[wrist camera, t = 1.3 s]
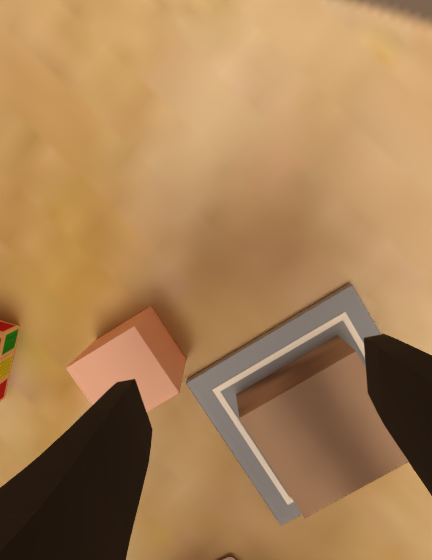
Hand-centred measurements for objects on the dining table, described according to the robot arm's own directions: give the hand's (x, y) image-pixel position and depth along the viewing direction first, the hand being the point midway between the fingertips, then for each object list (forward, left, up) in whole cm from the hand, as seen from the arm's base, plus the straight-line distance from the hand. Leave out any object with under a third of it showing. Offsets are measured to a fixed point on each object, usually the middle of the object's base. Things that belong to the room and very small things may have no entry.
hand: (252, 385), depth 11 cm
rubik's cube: (-17, +6, -13) cm, 22 cm away
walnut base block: (+1, -10, -12) cm, 15 cm away
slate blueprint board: (+1, -10, -13) cm, 16 cm away
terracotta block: (-7, 0, -13) cm, 15 cm away
